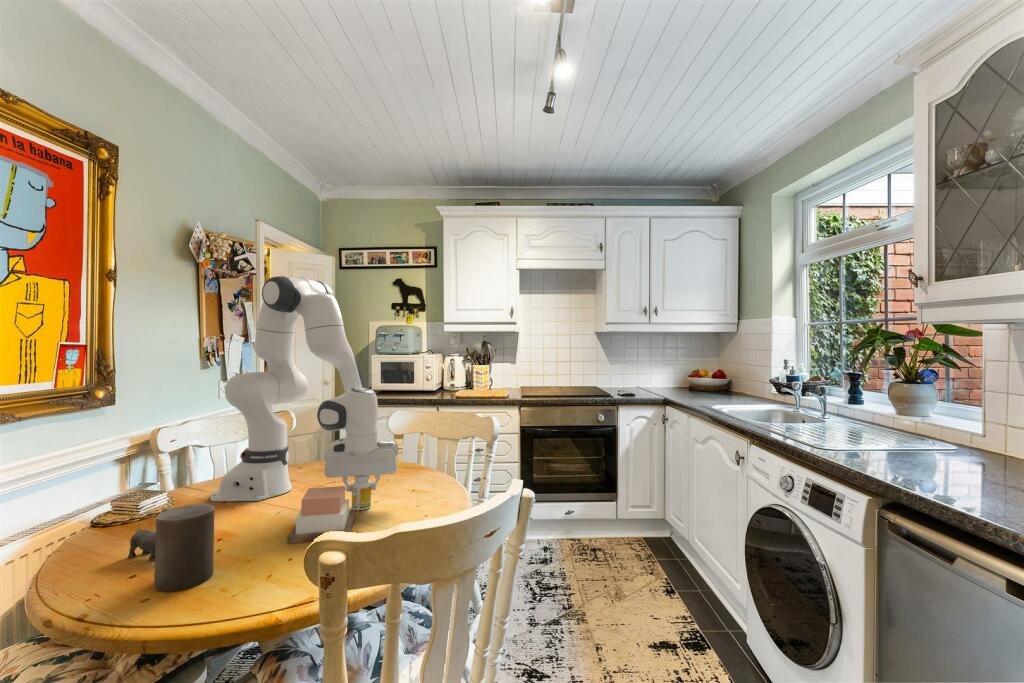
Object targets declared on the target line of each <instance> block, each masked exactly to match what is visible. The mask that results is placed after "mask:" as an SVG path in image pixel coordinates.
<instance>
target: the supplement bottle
mask: <svg viewBox="0 0 1024 683" xmlns="http://www.w3.org/2000/svg"><path fill="white" fill-rule="evenodd" d="M369 480H370V475H367V476H354V482H352V483H351V484H352V492H351V509H352V510H353V511H355V510H357V511H356V512H360V511H359V510H362V511H366V510H365V509H367V510H369V509H370V508H371V506H372V490H371V483H372V482H371V481H369ZM368 508H369V509H368Z"/></svg>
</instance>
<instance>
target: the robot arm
mask: <svg viewBox="0 0 1024 683" xmlns="http://www.w3.org/2000/svg"><path fill="white" fill-rule="evenodd" d="M261 289H262V290H261V297H262V304H261V307H260V310H259V314H258V318H257V323H256V331H255V339H254V348H253V349H254V353H255V355H256V356H258V357H259V359H261V360H263V361H264V362H266V365H267V371H256V372H254V371H253V372H245V373H240V374H237V375H234V376H231V377H230V378H229V379H228V381H227V382H226V383H225V387H224V397H225V399H226V400H227V402H228V403H229V405H231V406H233V408H235V409H237V410H238V411H239V412H240V413H241V414H242V416H243V418H244V420H245V422H246V426H247V437H248V438H247V439H248V442H247V443H248V447H246V448H245V449H244V450H243V451H242V452H241V454H240V455H239V458H240V459H241V461H240V462H239V463H238V464H236V465H235V466H234V467H232V468H231V469H230V470H229V471H228V472H226V473H225V474H224V475H223V476H222V478H221V479H220V483H219V487H218V489H216V490H214V491H213V492H212V493H211V494H210V498H209V500H210V499H211V500H212V501H211V500H210V501H211V502H259V501H264V500H267V499H269V498H273V497H278V496H281V495H284V494H286V493H288V492H291V490H292V489H293V486H292V484H291V479H290V475H289V469H288V468H289V467H288V464H289V460H290V455H289V454H290V451H289V450H290V449H289V446H288V425H287V422H286V420H284V418H282V417H280V416H278V415H275V413H274V411H273V406H275V405H282V404H290V403H293V402H296V401H299V400H301V399H303V398H304V397H305V396H306V393H307V392H308V386H309V385H308V380H307V378H306V376H305V375H304V374H303V373H301V371H300V370H299V369H298V367H297V365H296V363H295V360H294V343H295V335H296V326H297V325H296V324H297V319H298V317H299V316H301V317H302V319H303V324H304V326H303V327H304V332H305V340H306V344H307V347H308V350H309V351H310V353H312V354H313V355H314V356H316V357H317V358H319V359H321V360H323V361H326V362H328V363H329V364H331V365H333V366H334V367H335V368H336V370H338V373H339V376H340V379H341V383H342V386H343V390H344V393H342V394H341V395H338V396H336V397H332V398H329V399H327V400H324V401H323V402H321V403H320V405H319V407H318V409H317V412H316V413H317V414H316V418H317V422H318V424H319V425H320V427H321V428H322V429H323V430H325V431H328V432H335V431H336V432H337V431H340V430H345V435H346V436H345V437H343V438H339V439H337V440H336V439H335V440H334V441H332V442H331V443H330V445H329V450H328V451H329V453H328V454H327V456H326V459H325V464H324V472H323V473H324V476H325V477H326V478H327V479H328V478H329V479H330V478H331V479H332V478H342V482H343V484H344V486H345V492H346V493H349V492H351V493H352V484H353V483H349V480H348V479H349V477H350V478H351V477H355V476H367V475H369V476H374V479H375V480H374V482H371V491H376V490H377V484H378V482H379V481H380V479H381V475H395V473H396V472H397V471H398V461H397V457H398V455H399V446H398V444H397V443H395V442H393V441H389V442H387V441H386V442H384V441H381V442H379V441H378V440H379V431H378V430H379V429H378V426H377V423H378V420H379V405H378V397H377V394H376V392H375V391H374V390H373V389H371V388H367V387H365V385H364V381H363V377H362V374H361V373H362V372H361V369H360V366H359V363H358V359H357V357H356V354H355V351H354V350H353V349H352V347H351V345H350V344H349V341H348V339H347V338H348V337H347V335H346V331H345V327H344V320H343V316H342V313H341V310H340V306H339V304H338V301H337V299H336V298H335V297H334V291H333V289H332V288H331V287H330V286H329V285H328V284H327V283H325V282H322V281H319V280H312V279H309V278H305V277H304V278H303V277H289V276H288V277H287V276H283V275H281V276H273V277H270V278H268V279H267V280H266V281H265V282H264V283H263V287H262V288H261ZM266 498H267V499H266ZM263 499H264V500H263Z"/></svg>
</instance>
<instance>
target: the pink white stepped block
mask: <svg viewBox="0 0 1024 683" xmlns="http://www.w3.org/2000/svg"><path fill="white" fill-rule="evenodd" d="M345 497H346V485H343V486H342V485H341V486H340V485H338V486H325V487H311V488H308V489H307V490H306V493H305V494H304V495H303V497H302V499H301V509H300V511H299V512H298V514H297V515H296V517H295V524H296V534H305V533H317V532H328V531H340V530H344V528H345V525H346V522H347V518H348V515H349V512H350V499H349V498H348V499H346V498H345Z"/></svg>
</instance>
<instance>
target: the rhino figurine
mask: <svg viewBox="0 0 1024 683" xmlns="http://www.w3.org/2000/svg"><path fill="white" fill-rule="evenodd" d="M155 544H156V531H154V530H150V529H138V530H137V531H136V532H135V533H134V534H133V535H132V537H131V538H130V540H129V545H130V546H129V554H128V556H127V558H129V559H132V558H135V557H136V556H137V554H136V552H135V551H136V550H137V548H139V549H140V550H141V551H142V552H141V554H142V555H148V554H150V555H149V557H148V560H147V561H148V562H153V561H154V562H155Z"/></svg>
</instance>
